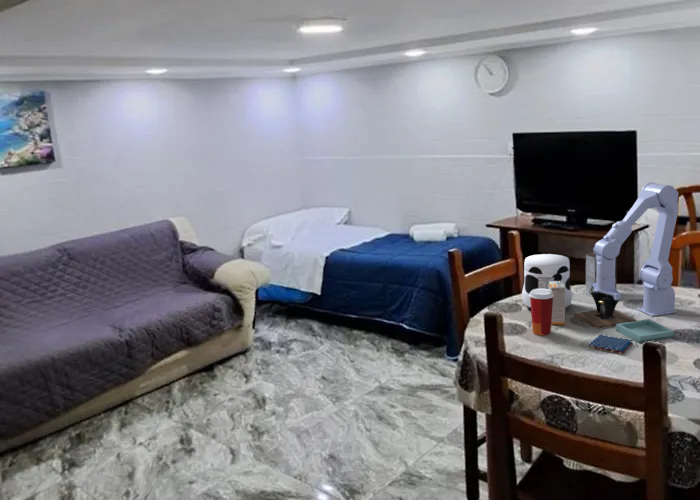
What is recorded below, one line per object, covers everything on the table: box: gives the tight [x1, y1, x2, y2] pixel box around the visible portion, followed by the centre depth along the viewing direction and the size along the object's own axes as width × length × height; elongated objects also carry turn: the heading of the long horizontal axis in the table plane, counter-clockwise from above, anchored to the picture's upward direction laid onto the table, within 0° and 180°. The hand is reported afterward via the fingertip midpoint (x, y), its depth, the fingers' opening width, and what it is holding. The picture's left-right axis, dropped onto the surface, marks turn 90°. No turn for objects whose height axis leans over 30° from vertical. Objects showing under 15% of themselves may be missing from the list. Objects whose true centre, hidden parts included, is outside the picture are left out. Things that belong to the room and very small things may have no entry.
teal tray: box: [615, 318, 675, 344], centre depth 205 cm, size 12×12×2 cm
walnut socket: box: [574, 309, 637, 330], centre depth 220 cm, size 14×14×1 cm
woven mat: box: [587, 334, 634, 355], centre depth 198 cm, size 10×11×2 cm
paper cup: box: [529, 289, 554, 336], centre depth 211 cm, size 8×8×14 cm
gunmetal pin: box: [598, 299, 610, 320], centre depth 219 cm, size 4×4×7 cm
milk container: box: [521, 253, 573, 310], centre depth 234 cm, size 17×17×18 cm
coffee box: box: [585, 251, 618, 297], centre depth 244 cm, size 9×6×16 cm
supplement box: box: [549, 281, 566, 325], centre depth 221 cm, size 8×5×13 cm, turn 168°
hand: (604, 314), depth 220 cm, fingers closed on gunmetal pin, 4 cm apart
